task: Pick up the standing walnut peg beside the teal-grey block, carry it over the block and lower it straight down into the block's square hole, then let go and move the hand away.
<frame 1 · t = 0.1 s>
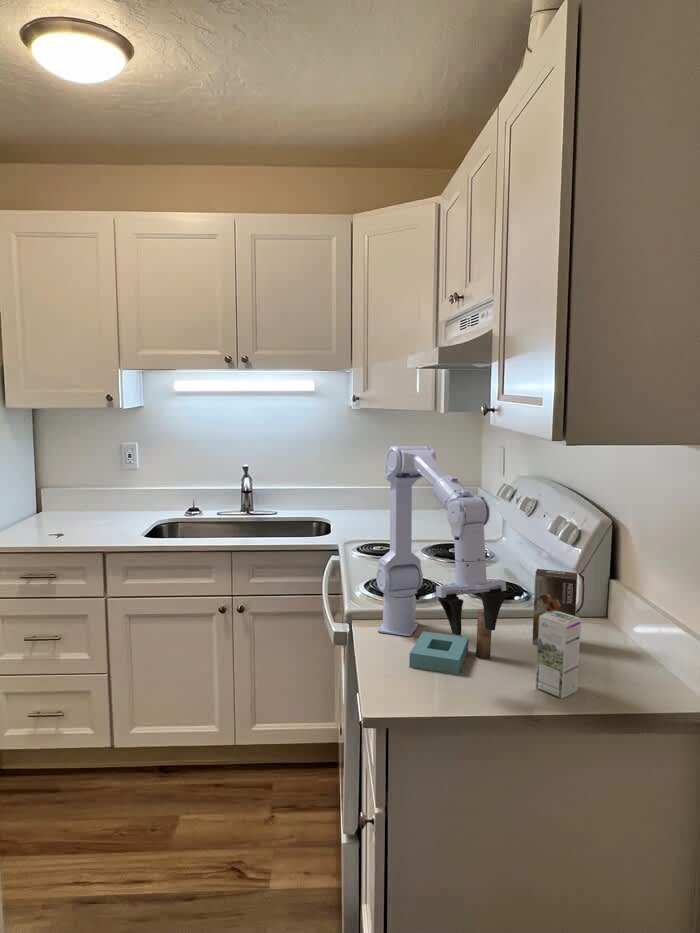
hand: (473, 631, 121), 11 cm above the worktop, tool pointing down, fingers open, 7 cm apart
hole block: (439, 658, 134), on the worktop
coffee box: (553, 643, 145), on the worktop
walnut peg: (483, 656, 136), on the worktop
syrup box: (556, 691, 121), on the worktop
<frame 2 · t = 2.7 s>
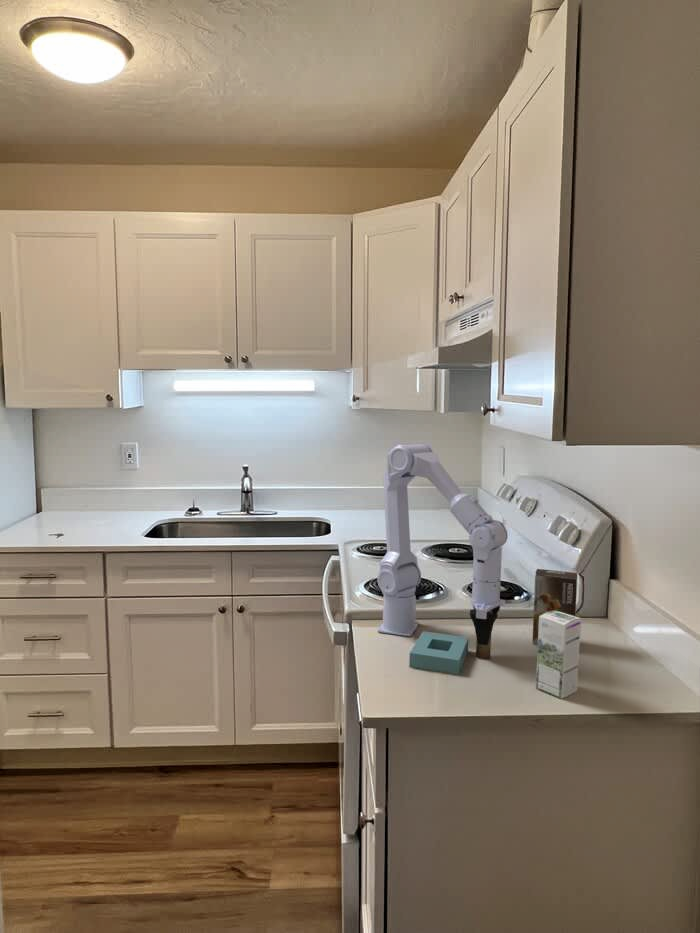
hand: (483, 641, 136), 3 cm above the worktop, tool pointing down, fingers closed on walnut peg, 3 cm apart
walnut peg: (483, 656, 136), on the worktop, touching gripper
everything else where it was.
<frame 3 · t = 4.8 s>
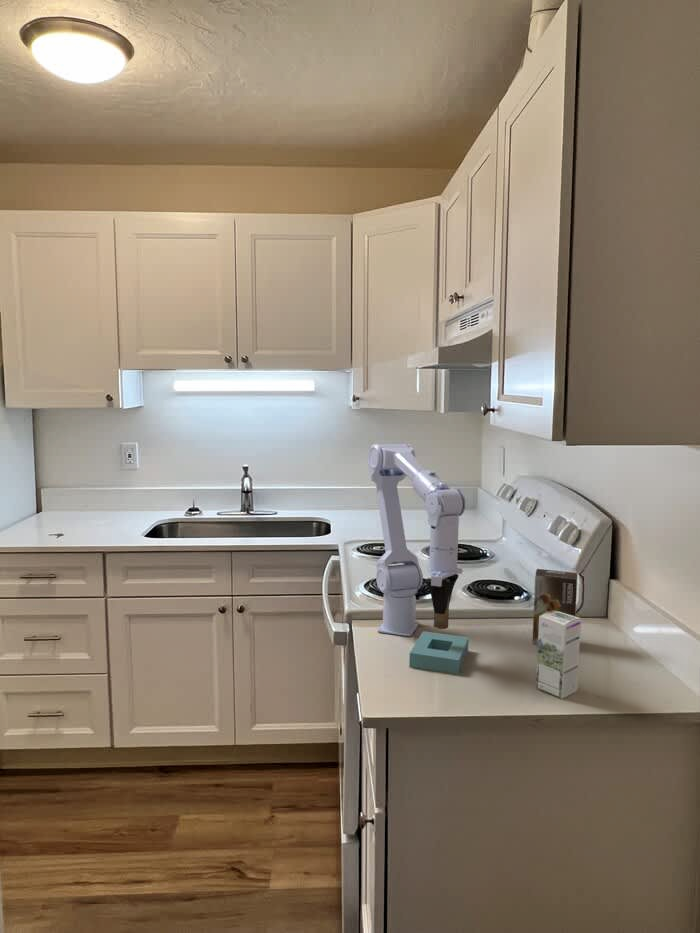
hand: (441, 610, 133), 10 cm above the worktop, tool pointing down, fingers closed on walnut peg, 3 cm apart
walnut peg: (440, 626, 134), point 7 cm above the worktop, touching gripper
everything else where it was.
when the fingers open (5 cm above the worktop, at t = 7.2 s): walnut peg drops 1 cm, resting in hole block.
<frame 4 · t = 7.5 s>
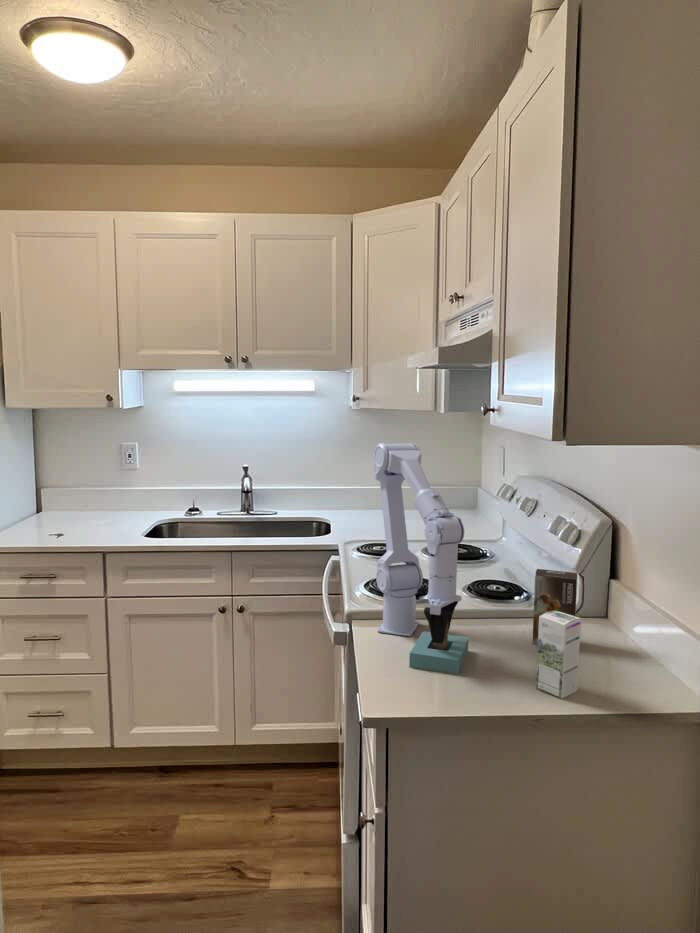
hand: (440, 637, 134), 5 cm above the worktop, tool pointing down, fingers open, 5 cm apart
walnut peg: (439, 658, 134), resting in hole block
everything else where it was.
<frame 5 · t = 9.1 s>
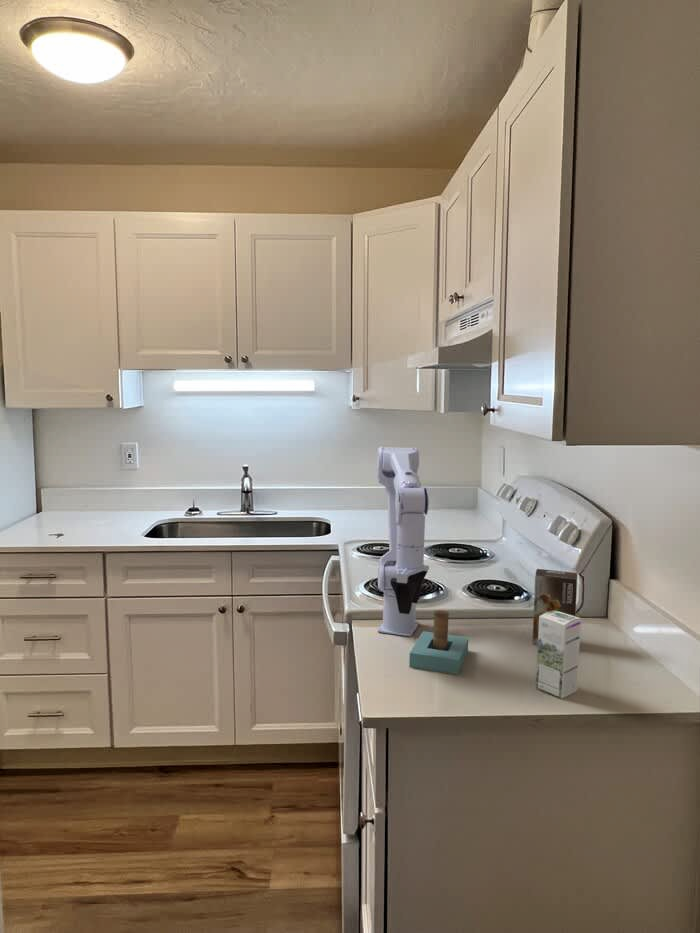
hand: (408, 607, 135), 10 cm above the worktop, tool pointing down, fingers open, 7 cm apart
nothing on the worktop moved.
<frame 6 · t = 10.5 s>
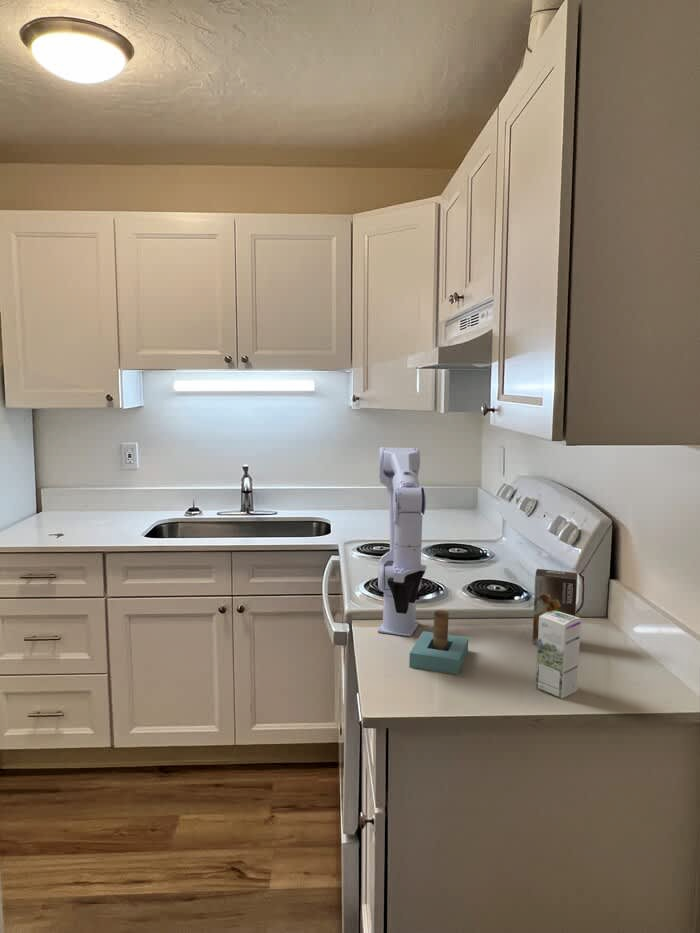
hand: (405, 607, 135), 10 cm above the worktop, tool pointing down, fingers open, 7 cm apart
nothing on the worktop moved.
at the end: walnut peg 0.0 cm off-centre on the hole block, point 0.0 cm above the hole block's base; walnut peg tilted 0°; the gripper is holding nothing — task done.
